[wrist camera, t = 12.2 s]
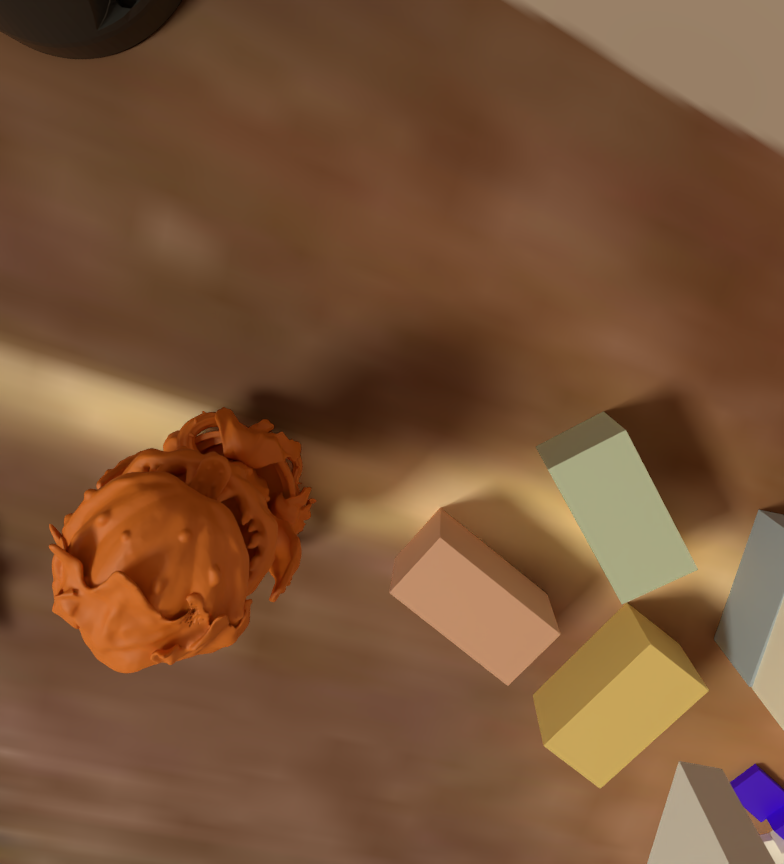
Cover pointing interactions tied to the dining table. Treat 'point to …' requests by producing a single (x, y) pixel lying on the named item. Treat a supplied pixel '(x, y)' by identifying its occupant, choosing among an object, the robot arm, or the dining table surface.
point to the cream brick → (773, 671)
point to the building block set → (763, 806)
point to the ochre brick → (616, 696)
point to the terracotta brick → (474, 597)
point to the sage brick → (617, 506)
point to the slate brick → (754, 597)
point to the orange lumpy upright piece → (181, 542)
